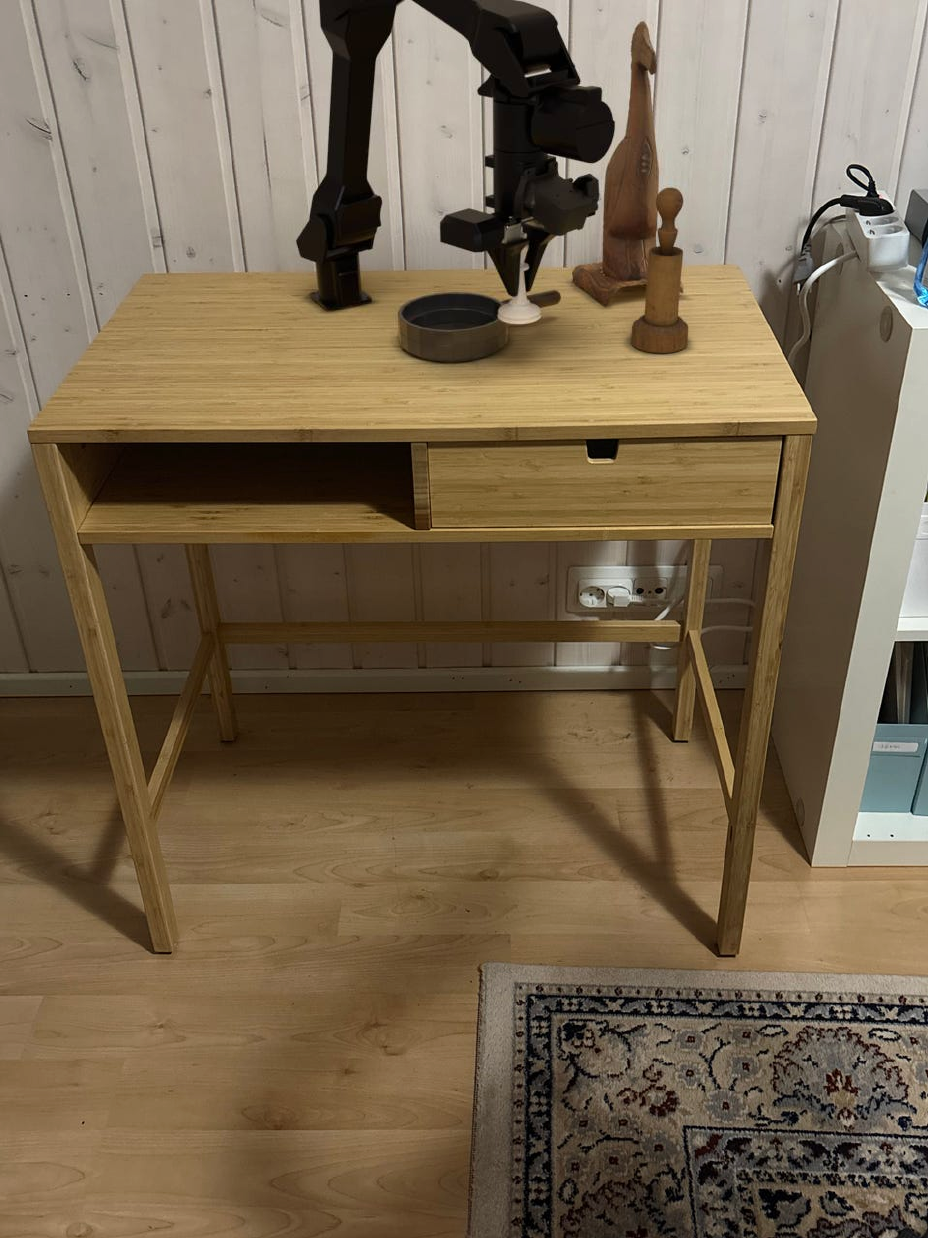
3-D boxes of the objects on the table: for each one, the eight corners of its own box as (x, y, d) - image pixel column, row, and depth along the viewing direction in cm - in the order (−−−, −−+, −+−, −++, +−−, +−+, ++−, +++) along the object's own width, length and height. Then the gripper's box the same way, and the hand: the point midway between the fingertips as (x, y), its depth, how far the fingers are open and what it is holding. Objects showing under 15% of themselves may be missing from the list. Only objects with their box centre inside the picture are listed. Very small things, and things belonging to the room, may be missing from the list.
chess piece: (518, 304, 135) (518, 216, 129) (550, 315, 132) (552, 225, 126) (488, 316, 132) (487, 227, 127) (520, 327, 129) (520, 236, 124)
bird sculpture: (608, 310, 150) (621, 33, 132) (568, 282, 159) (576, 19, 141) (685, 297, 153) (708, 25, 135) (642, 270, 162) (658, 12, 144)
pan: (382, 335, 145) (380, 304, 143) (475, 316, 150) (474, 285, 147) (429, 372, 135) (427, 339, 133) (526, 349, 140) (527, 317, 138)
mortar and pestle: (685, 333, 143) (699, 180, 133) (688, 354, 138) (702, 197, 127) (630, 333, 144) (639, 180, 133) (631, 353, 138) (641, 196, 128)
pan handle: (500, 319, 143) (500, 304, 142) (493, 314, 144) (492, 300, 143) (563, 305, 146) (563, 291, 145) (556, 300, 147) (556, 286, 146)
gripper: (513, 178, 112) (512, 335, 121) (638, 142, 122) (629, 289, 131) (433, 158, 118) (438, 308, 127) (559, 125, 129) (555, 266, 138)
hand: (519, 293), depth 131 cm, fingers closed on chess piece
